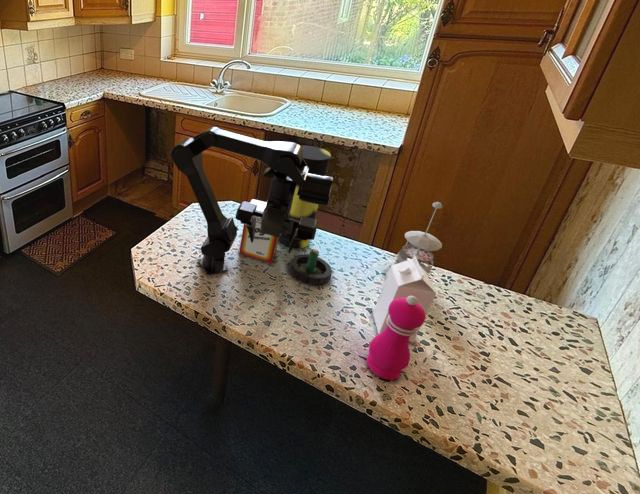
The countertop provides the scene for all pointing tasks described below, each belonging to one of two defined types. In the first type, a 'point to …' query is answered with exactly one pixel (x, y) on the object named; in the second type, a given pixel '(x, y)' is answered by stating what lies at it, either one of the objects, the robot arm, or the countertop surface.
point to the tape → (310, 278)
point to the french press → (420, 246)
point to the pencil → (312, 261)
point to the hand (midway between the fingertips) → (270, 246)
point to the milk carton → (404, 290)
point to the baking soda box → (258, 240)
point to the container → (318, 166)
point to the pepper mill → (395, 338)
